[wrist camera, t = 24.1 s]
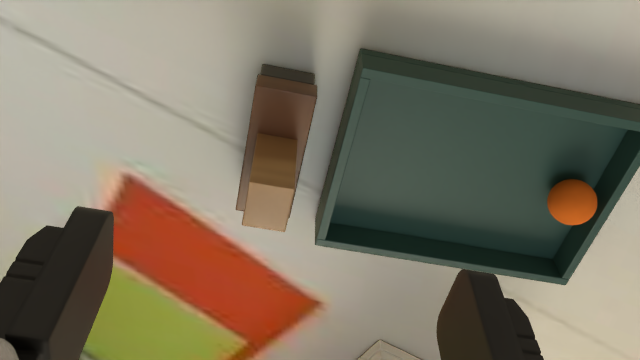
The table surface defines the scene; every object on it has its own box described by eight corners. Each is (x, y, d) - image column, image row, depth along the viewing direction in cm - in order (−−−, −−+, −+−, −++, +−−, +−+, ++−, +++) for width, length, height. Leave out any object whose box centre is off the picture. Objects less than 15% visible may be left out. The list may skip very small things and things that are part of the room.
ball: (582, 170, 40) (548, 170, 38) (615, 194, 37) (580, 195, 36) (564, 207, 41) (530, 208, 40) (595, 233, 39) (560, 235, 38)
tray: (360, 47, 35) (363, 67, 33) (643, 104, 37) (664, 127, 35) (315, 219, 42) (314, 245, 40) (553, 258, 45) (565, 285, 42)
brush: (260, 63, 36) (246, 130, 29) (317, 74, 36) (316, 143, 29) (240, 183, 41) (225, 263, 34) (291, 191, 41) (285, 273, 34)
